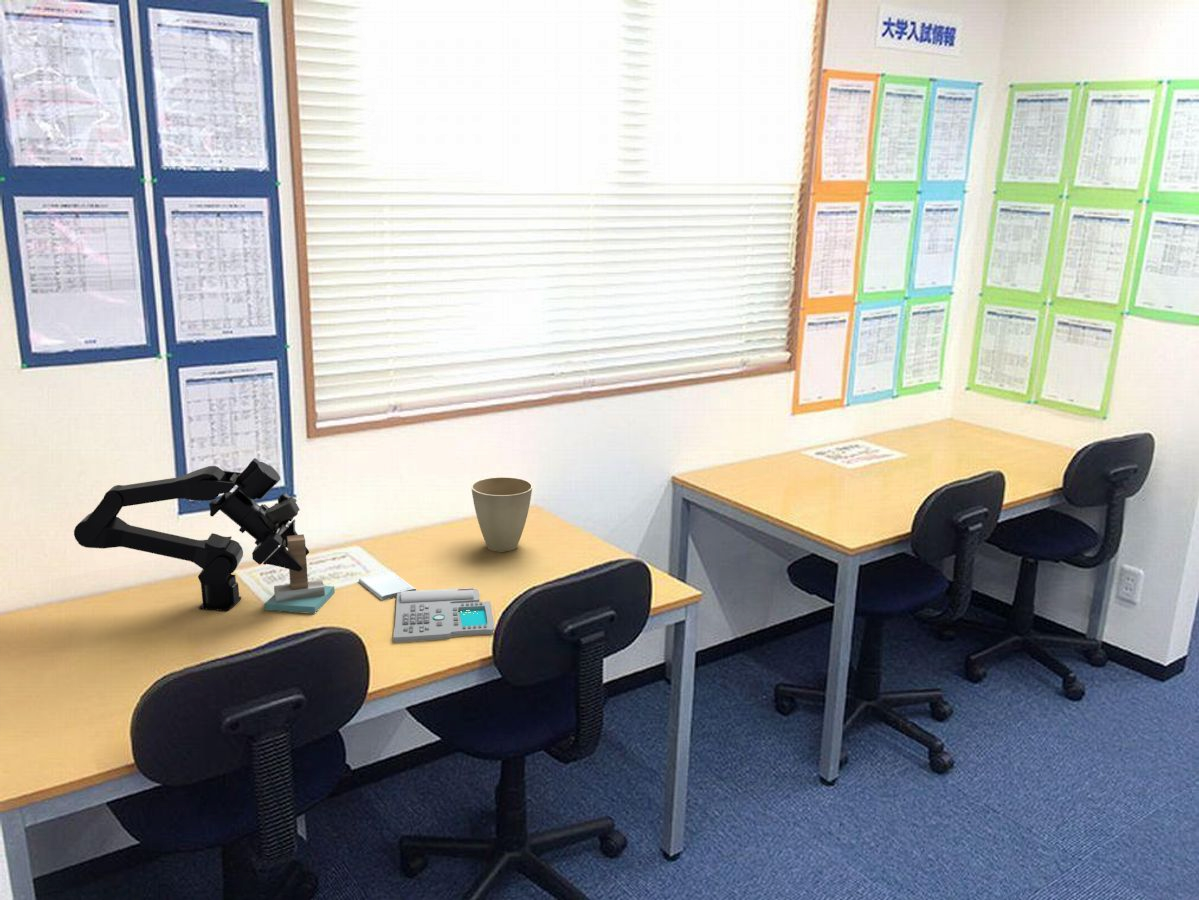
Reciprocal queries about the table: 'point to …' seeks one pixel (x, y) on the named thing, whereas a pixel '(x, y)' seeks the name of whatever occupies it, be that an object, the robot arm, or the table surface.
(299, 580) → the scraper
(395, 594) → the hard drive
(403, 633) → the office telephone
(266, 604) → the plate
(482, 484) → the plant pot
